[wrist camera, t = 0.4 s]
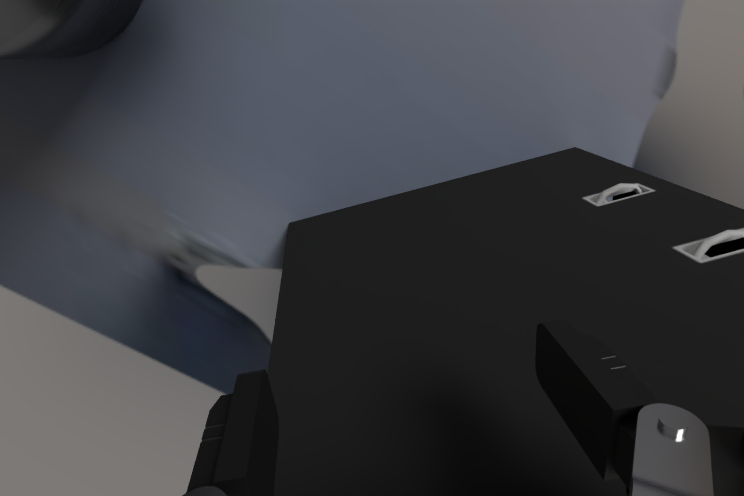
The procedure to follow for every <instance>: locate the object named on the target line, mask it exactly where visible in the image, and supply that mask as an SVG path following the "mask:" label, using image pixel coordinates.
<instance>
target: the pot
mask: <svg viewBox="0 0 744 496" xmlns="http://www.w3.org/2000/svg"><path fill="white" fill-rule="evenodd" d="M141 1H142V0H0V59H31V58H62V57H72V56H78V55H82V54H86V53H89V52H91V51H94V50H96V49H99V48H101V47H103V46H104V45H106V44H107V43H109V42H111V41H112V40H113V39H115V38H116V37H117V36H118V35H119V34H120V33H121V32H123V30H124V29H125V28H126V27H127V26H128V24H129V23H130V22H131V21H132V19H133V17H134V16H135V14H136V12H137V10H138V9H139V6H140V4H141Z"/></svg>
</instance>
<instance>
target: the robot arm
mask: <svg viewBox="0 0 744 496" xmlns="http://www.w3.org/2000/svg"><path fill="white" fill-rule="evenodd" d="M535 369H536V374H537V378H538V381H539V383H540V385H541V387H542V388H543V390H544V391H545V393H546V394H547V396H548V397H549V399H550V400H551V402H552V403H553V405H554V406H555V408H556V409H557V411H558V413H559V414H560V416H561V417H562V419H563V420H564V422H565V423H566V425H567V426H568V428H569V429H570V431H571V432H572V434H573V435H574V437H575V438H576V440H577V441H578V443H579V444H580V446H581V447H582V449H583V450H584V452H585V453H586V455H587V456H588V458H589V459H590V461H591V462H592V464H593V465H594V467H595V468H596V470H597V471H598V473H599V474H600V476H601V477H602V479H603V480H604V481H608V480H613V479H618V478H621V480H622V481H623V483H624V484H625V485H626V490H625V496H744V428H740V427H728V426H715V425H706V424H704V423H703V422H702V421H701V420H700V419H699V418H698V417H696V416H695V415H694V414H692V413H691V412H689V411H687V410H685V409H683V408H680V407H677V406H674V405H670V404H663V403H662V402H661V401H660V400H659V399H658V398H657V397H656V396H655V395H654V394H653V393H652V392H651V391H650V390H649V389H648V388H647V387H646V386H645V385H644V384H643V383H642V382H641V381H640V380H639V379H638V377H637V376H636V375H635V374H634V373H633V372H632V371H631V370H630V369H629V368H628V367H627V368H626V366H625V364H624V363H623V362H622V361H621V360H620V359H619V358H618V357H616V355H615V354H614V353H613V352H612V351H611V350H610V349H609V348H608V346H607V345H606V344H605V343H604V342H602V341H600V340H598V339H596V338H594V337H593V336H591V335H589V334H587V333H585V334H579V333H578V332H577V331H576V330H575V329H574V328H573V327H572V326H571V324H570V323H569V322H568V321H566V320H564V319H563V320H557V321H551V322H545V323H540V324H538V326H537V331H536V355H535ZM205 427H206V429H205V430H204V433H203V437H202V442H201V443H200V447H199V450H198V454H197V457H196V461H195V465H194V468H193V472H192V475H191V479H190V482H189V486H188V489H187V492H186V494H184V495H183V496H273V494H274V482H275V471H276V460H277V449H278V438H279V419H278V413H277V408H276V404H275V401H274V397H273V393H272V390H271V386H270V382H269V379H268V375H267V372H266V371H265V370H259V371H254V372H248V373H242V374H238V376H237V379H236V384H235V388H234V392H233V394H228V395H222V396H220V398H219V399H218V400H217V402H216V403H215V404H214V406H213V407H212V408H211V410H210V411H209V415H208V418H207V422H206V426H205Z"/></svg>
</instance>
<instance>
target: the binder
mask: <svg viewBox="0 0 744 496" xmlns="http://www.w3.org/2000/svg"><path fill="white" fill-rule="evenodd" d="M612 196H613V200H612V201H611V202H607V201H606V200H605V198H608V197H612ZM563 319H564V320H566V321H568V322H569V323H570V324H571V326H572V327H573V328H574V329H575V330H576V331H577V332H578V333H579V334H585V333H587V334H589V335H591V336H593V337H594V338H596V339H598V340H600V341H602V342H604V343H605V344H606V345H607V346H608V348H609V349H610V350H611V351H612V352H613V353H614V354H615V355H616V357H618V358H619V359H620V360H621V361H622V362H623V363H624V364H625V366H626V368H627V367H628V368H629V369H630V370H631V371H632V372H633V373H634V374H635V375H636V376H637V377H638V379H639V380H640V381H641V382H642V383H643V384H644V385H645V386H646V387H647V388H648V389H649V390H650V391H651V392H652V393H653V394H654V395H655V396H656V397H657V398H658V399H659V400H660V401H661V402H662V403H663V404H670V405H674V406H677V407H680V408H683V409H685V410H687V411H689V412H691V413H692V414H694V415H695V416H696V417H698V418H699V419H700V420H701V421H702V422H703V423H704V424H706V425H715V426H728V427H740V428H744V209H741V208H738V207H735V206H733V205H730V204H727V203H724V202H722V201H719V200H717V199H714V198H711V197H709V196H706V195H703V194H700V193H698V192H695V191H692V190H690V189H687V188H684V187H681V186H679V185H676V184H673V183H671V182H668V181H665V180H663V179H660V178H657V177H654V176H652V175H649V174H646V173H643V172H641V171H638V170H636V169H633V168H630V167H627V166H625V165H622V164H619V163H617V162H614V161H611V160H609V159H606V158H603V157H600V156H598V155H595V154H592V153H590V152H587V151H584V150H581V149H579V148H576V147H574V148H571V149H567V150H563V151H559V152H556V153H552V154H548V155H544V156H540V157H537V158H533V159H529V160H525V161H521V162H518V163H514V164H510V165H506V166H503V167H499V168H495V169H491V170H487V171H484V172H480V173H476V174H472V175H469V176H465V177H461V178H457V179H453V180H450V181H446V182H442V183H438V184H435V185H431V186H427V187H423V188H419V189H416V190H412V191H408V192H404V193H401V194H397V195H393V196H389V197H385V198H382V199H378V200H374V201H370V202H367V203H363V204H359V205H355V206H351V207H348V208H344V209H340V210H336V211H333V212H329V213H325V214H321V215H317V216H314V217H310V218H306V219H302V220H299V221H295V222H291V223H289V229H288V236H287V243H286V250H285V257H284V264H283V271H282V278H281V285H280V292H279V299H278V305H277V312H276V319H275V327H274V334H273V340H272V347H271V354H270V361H269V368H268V379H269V382H270V386H271V390H272V393H273V397H274V401H275V404H276V408H277V413H278V419H279V438H278V449H277V460H276V471H275V482H274V494H273V496H625V490H626V485H625V484H624V483H623V481H622V480H621V478H618V479H613V480H608V481H604V480H603V479H602V477H601V476H600V474H599V473H598V471H597V470H596V468H595V467H594V465H593V464H592V462H591V461H590V459H589V458H588V456H587V455H586V453H585V452H584V450H583V449H582V447H581V446H580V444H579V443H578V441H577V440H576V438H575V437H574V435H573V434H572V432H571V431H570V429H569V428H568V426H567V425H566V423H565V422H564V420H563V419H562V417H561V416H560V414H559V413H558V411H557V409H556V408H555V406H554V405H553V403H552V402H551V400H550V399H549V397H548V396H547V394H546V393H545V391H544V390H543V388H542V387H541V385H540V383H539V381H538V378H537V374H536V369H535V355H536V331H537V326H538V324H540V323H545V322H551V321H557V320H563Z"/></svg>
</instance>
